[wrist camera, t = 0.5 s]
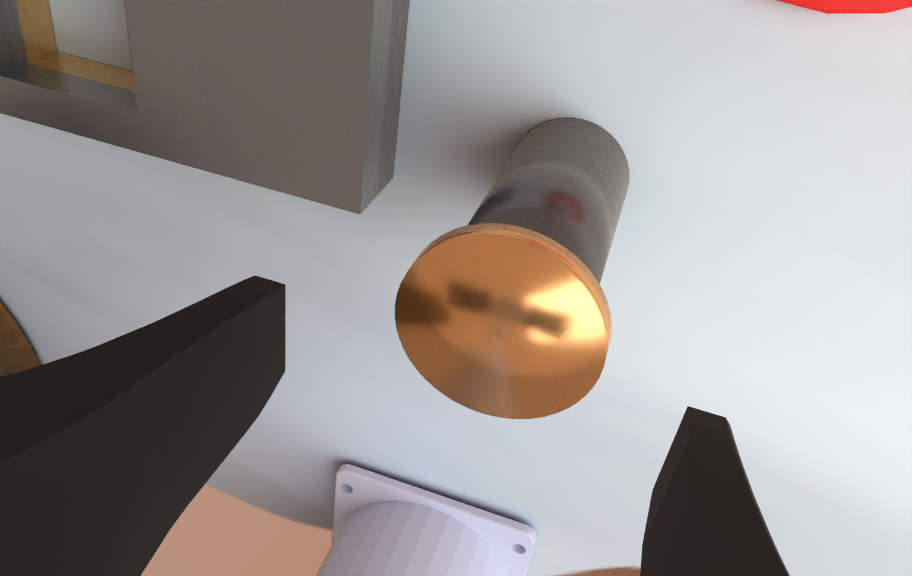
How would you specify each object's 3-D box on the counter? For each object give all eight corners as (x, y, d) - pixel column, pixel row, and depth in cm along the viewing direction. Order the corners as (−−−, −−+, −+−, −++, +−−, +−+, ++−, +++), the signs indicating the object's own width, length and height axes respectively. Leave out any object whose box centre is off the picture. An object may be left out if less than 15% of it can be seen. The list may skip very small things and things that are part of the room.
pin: (625, 259, 22) (578, 444, 16) (484, 220, 22) (386, 382, 16) (668, 121, 19) (632, 275, 13) (508, 82, 20) (404, 212, 14)
